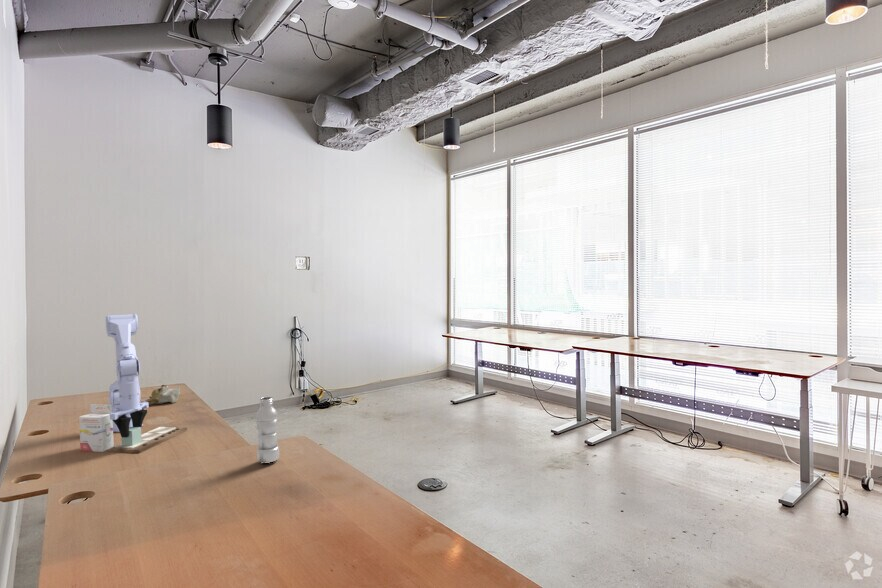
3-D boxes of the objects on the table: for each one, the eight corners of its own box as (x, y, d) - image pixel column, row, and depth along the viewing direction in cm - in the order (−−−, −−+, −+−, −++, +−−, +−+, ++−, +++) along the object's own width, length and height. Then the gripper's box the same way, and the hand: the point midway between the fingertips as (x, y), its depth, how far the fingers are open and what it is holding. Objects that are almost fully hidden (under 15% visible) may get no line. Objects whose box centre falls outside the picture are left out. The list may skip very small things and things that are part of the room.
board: (110, 451, 162) (110, 447, 162) (160, 429, 185) (160, 425, 185) (139, 453, 160) (139, 449, 160) (187, 430, 183) (186, 426, 183)
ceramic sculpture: (175, 385, 218) (138, 389, 215) (177, 404, 218) (140, 409, 215) (183, 380, 228) (148, 384, 225) (185, 398, 229) (150, 402, 226)
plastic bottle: (284, 459, 153) (282, 396, 152) (268, 468, 147) (266, 402, 146) (268, 456, 156) (266, 394, 155) (252, 464, 150) (250, 400, 149)
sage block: (122, 445, 164) (121, 430, 164) (131, 441, 168) (130, 426, 168) (132, 445, 164) (131, 431, 163) (141, 441, 168) (140, 427, 167)
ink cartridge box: (79, 451, 163) (77, 407, 162) (91, 446, 168) (89, 403, 167) (103, 452, 162) (101, 408, 161) (114, 446, 167) (112, 404, 166)
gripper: (122, 400, 157) (124, 442, 158) (155, 389, 172) (157, 427, 172) (103, 400, 158) (105, 441, 159) (137, 389, 173) (139, 427, 173)
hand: (131, 434), depth 166 cm, fingers open, 5 cm apart
